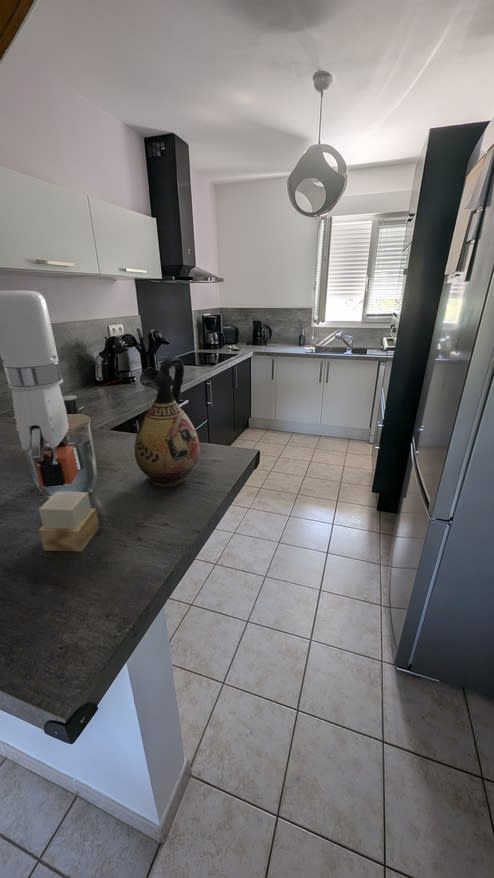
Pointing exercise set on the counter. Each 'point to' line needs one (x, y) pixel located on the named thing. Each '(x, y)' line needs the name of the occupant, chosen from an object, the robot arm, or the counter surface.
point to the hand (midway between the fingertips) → (59, 476)
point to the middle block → (65, 510)
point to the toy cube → (62, 464)
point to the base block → (70, 535)
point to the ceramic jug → (166, 429)
